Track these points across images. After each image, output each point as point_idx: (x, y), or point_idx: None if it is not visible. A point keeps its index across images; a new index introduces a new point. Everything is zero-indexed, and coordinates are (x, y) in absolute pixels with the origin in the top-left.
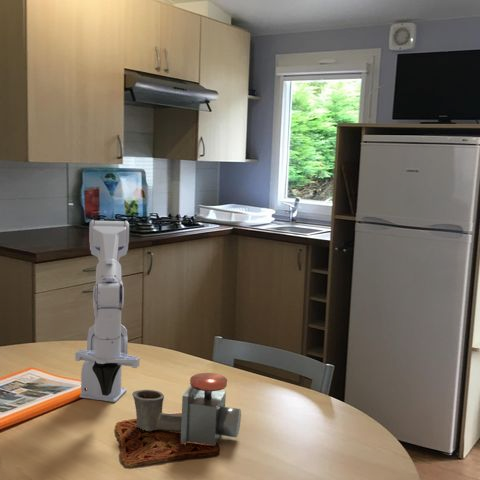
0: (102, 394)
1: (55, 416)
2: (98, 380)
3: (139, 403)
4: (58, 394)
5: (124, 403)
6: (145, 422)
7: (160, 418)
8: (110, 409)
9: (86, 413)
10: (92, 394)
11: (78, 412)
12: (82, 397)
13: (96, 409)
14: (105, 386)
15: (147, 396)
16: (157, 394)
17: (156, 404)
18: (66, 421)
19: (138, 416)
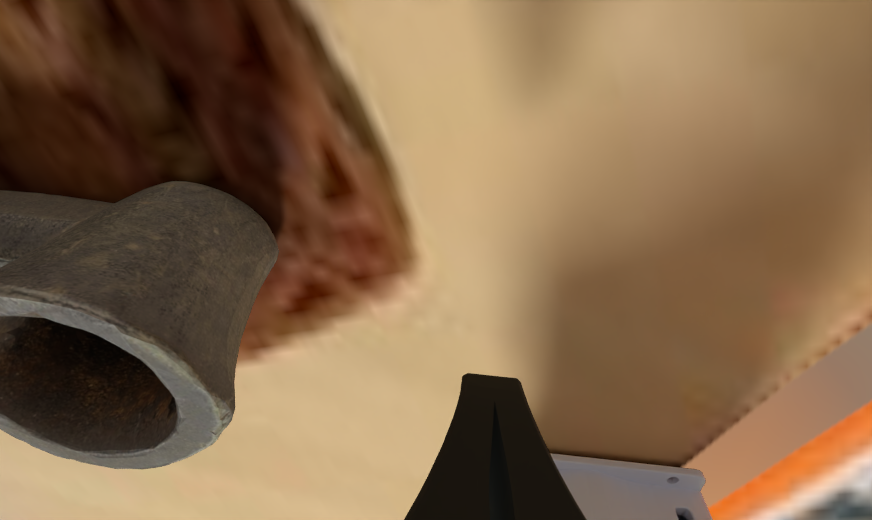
0: (516, 381)
1: (831, 271)
2: (579, 513)
3: (108, 278)
4: (823, 485)
5: None
6: (157, 200)
7: (52, 236)
8: None
9: (630, 332)
10: (637, 489)
11: (681, 336)
12: (686, 468)
13: (582, 378)
14: (481, 444)
15: (149, 406)
16: (51, 422)
17: None
18: (746, 221)
19: (204, 234)
